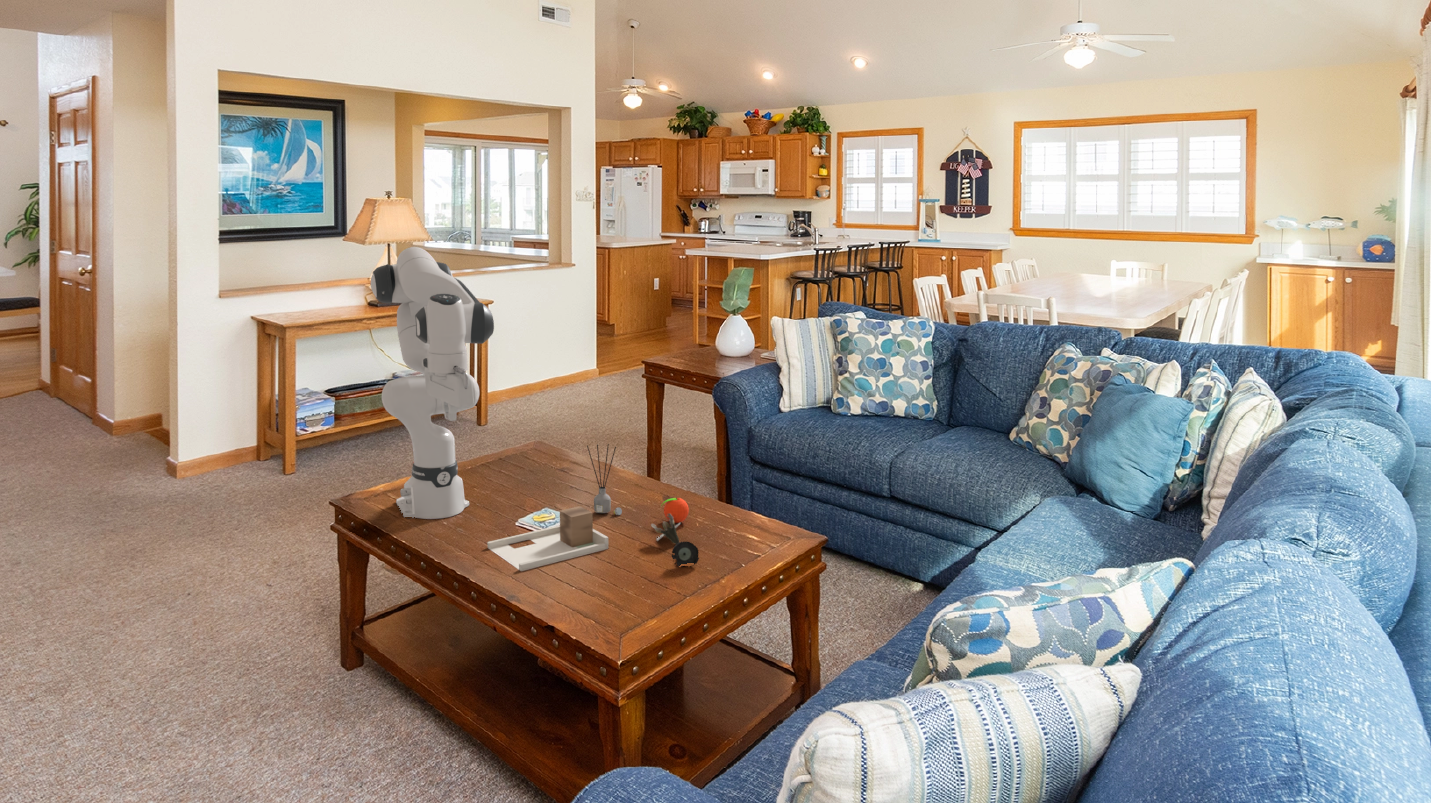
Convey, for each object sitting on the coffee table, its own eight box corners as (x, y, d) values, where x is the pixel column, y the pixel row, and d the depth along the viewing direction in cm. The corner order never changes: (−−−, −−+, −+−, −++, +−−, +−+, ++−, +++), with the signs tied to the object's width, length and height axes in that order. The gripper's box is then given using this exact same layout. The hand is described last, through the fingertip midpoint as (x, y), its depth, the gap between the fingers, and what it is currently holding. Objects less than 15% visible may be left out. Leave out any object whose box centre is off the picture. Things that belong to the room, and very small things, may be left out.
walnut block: (560, 540, 233) (559, 510, 232) (580, 535, 237) (580, 506, 235) (572, 547, 229) (571, 517, 227) (592, 542, 233) (592, 512, 231)
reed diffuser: (584, 514, 257) (583, 446, 253) (592, 506, 264) (591, 439, 259) (619, 517, 255) (619, 448, 251) (626, 509, 262) (626, 442, 257)
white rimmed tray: (487, 553, 228) (487, 536, 227) (572, 533, 243) (571, 517, 242) (521, 577, 214) (520, 559, 213) (608, 554, 229) (608, 537, 228)
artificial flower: (667, 575, 221) (655, 536, 219) (658, 550, 243) (647, 515, 242) (702, 563, 222) (691, 525, 221) (690, 540, 244) (679, 505, 243)
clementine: (662, 527, 248) (663, 502, 246) (657, 519, 255) (657, 494, 253) (691, 525, 250) (691, 500, 249) (685, 517, 257) (685, 492, 255)
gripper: (479, 368, 212) (481, 426, 215) (444, 356, 227) (446, 410, 230) (453, 371, 208) (455, 430, 211) (419, 358, 223) (422, 413, 226)
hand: (450, 419), depth 221 cm, fingers closed
